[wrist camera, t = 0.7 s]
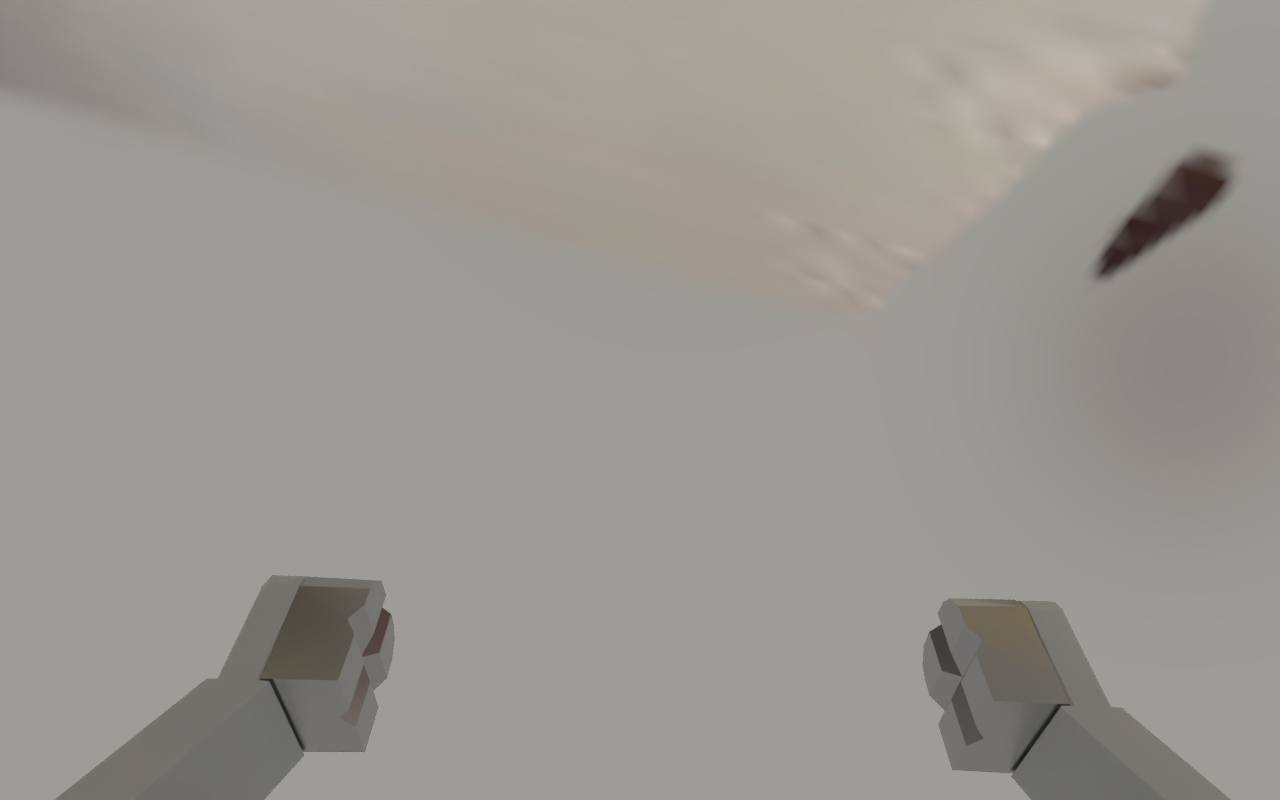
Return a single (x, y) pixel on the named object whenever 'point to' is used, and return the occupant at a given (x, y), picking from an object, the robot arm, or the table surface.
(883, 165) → the table surface
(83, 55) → the table surface
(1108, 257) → the table surface
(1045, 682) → the robot arm
